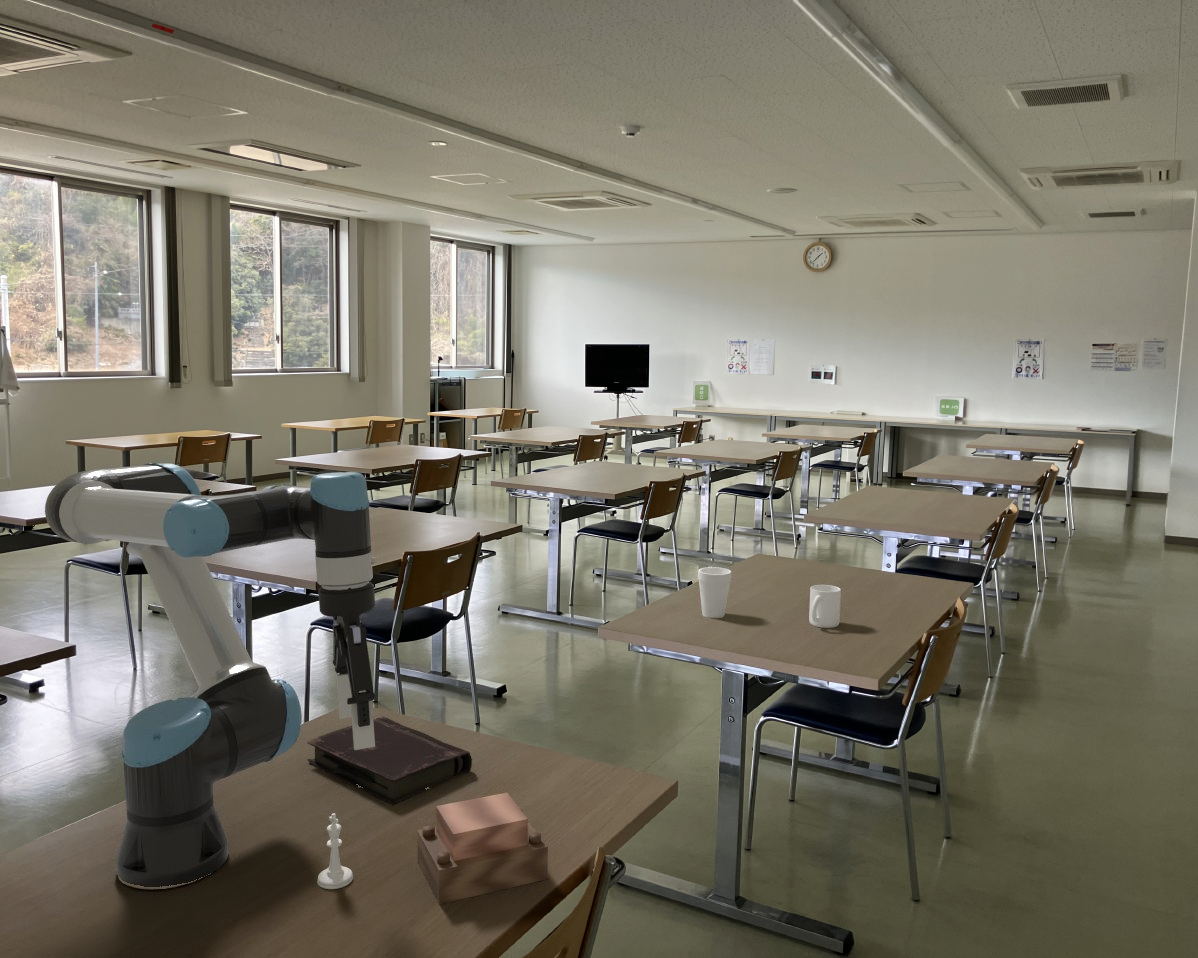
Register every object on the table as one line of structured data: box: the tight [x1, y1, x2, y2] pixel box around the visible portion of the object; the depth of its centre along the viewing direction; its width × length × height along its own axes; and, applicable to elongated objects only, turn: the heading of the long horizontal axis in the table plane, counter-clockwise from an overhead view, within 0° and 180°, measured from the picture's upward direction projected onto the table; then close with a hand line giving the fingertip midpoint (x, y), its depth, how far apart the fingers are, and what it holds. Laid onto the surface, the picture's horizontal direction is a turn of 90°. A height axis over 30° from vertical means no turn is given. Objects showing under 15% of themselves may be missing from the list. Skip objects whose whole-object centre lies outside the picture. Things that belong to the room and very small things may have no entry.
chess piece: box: [316, 812, 354, 890], centre depth 138 cm, size 5×5×10 cm
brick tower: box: [416, 792, 549, 905], centre depth 141 cm, size 16×12×9 cm
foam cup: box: [697, 566, 732, 619], centre depth 277 cm, size 10×9×13 cm
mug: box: [808, 584, 842, 629], centre depth 267 cm, size 12×8×10 cm
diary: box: [306, 716, 473, 807], centre depth 175 cm, size 19×25×5 cm
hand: (356, 731), depth 136 cm, fingers open, 13 cm apart
